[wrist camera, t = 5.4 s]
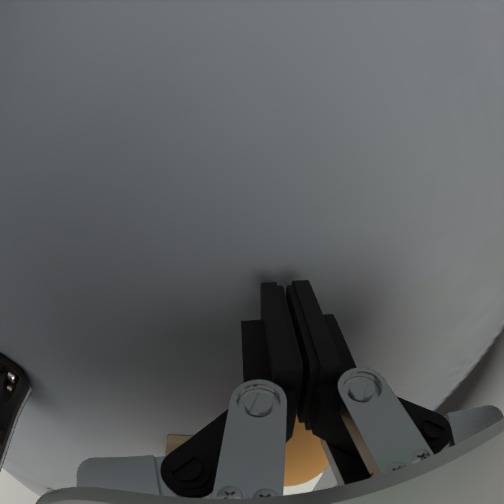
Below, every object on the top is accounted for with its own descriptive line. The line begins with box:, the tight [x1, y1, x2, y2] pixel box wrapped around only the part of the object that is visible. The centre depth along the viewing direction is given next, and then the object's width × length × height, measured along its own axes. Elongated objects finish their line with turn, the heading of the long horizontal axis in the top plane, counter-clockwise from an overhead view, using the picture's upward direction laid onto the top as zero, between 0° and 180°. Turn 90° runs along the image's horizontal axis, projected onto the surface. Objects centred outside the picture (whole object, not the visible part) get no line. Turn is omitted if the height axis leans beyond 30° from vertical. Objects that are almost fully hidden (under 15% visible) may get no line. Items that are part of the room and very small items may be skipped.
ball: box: [284, 415, 329, 487], centre depth 13 cm, size 6×6×6 cm
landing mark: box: [283, 472, 323, 496], centre depth 25 cm, size 12×12×1 cm
